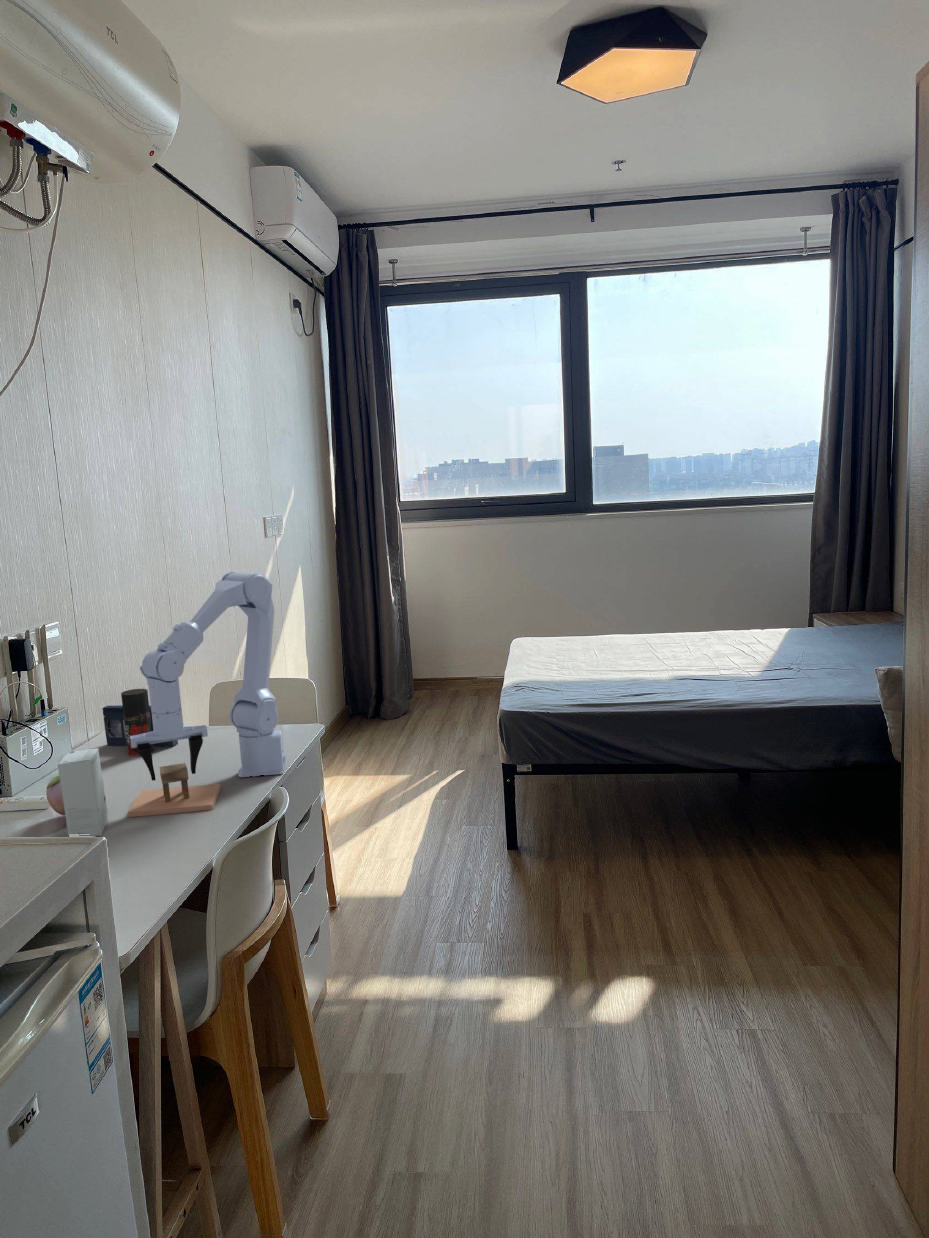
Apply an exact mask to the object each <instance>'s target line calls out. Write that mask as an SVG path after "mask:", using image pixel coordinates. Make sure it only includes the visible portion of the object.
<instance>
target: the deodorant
mask: <svg viewBox="0 0 929 1238" xmlns="http://www.w3.org/2000/svg"><path fill="white" fill-rule="evenodd" d="M148 691H149V689H146V688H133V689H128V690H124V691H122V692H120V695H121V697H120V698H121V706H123V714H124V723H125V732H126V740H127V746H126V747H127V754H128V756H130V757H139V756H141V755H140V754H139V752H138V748H137V747H135V748H131V740H130V736H134V735H139V734H143V733H148V732H152V727H151V718H150V709H149V706H150V698H149V692H148ZM150 745H151V751H152V753H153V752H154V751H155V747H154V745H153V744H150Z"/></svg>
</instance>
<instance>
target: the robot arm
mask: <svg viewBox="0 0 929 1238" xmlns="http://www.w3.org/2000/svg"><path fill="white" fill-rule="evenodd" d="M272 592H273V584H272V583H271V581H270V580H269V579H268V578H267V577H266V576H265V575H264V574H262V573H256V572H255V573H247V572H246V573H245V572H243V573H242V572H236V571H229V572H227V573H225V574H224V575H223V576H222V577H221V579H220V580H218V582H216V584H215V587H214V590H213V592H212V593H211V594H210V596H209V597H208V598H207V599H206V601H205V602H204V603H203V605H201V607H200V608H199V609H198V611H197V612H196V614H195V615H193V617H192V618H191V620H190V621H187V622H186V621H183V622H180V623H179V624H175V625H174V626H173V628H172V630H173V631H172V632H171V633H170V634H169V635H168V637H166V638H165V640H164V641H163V642H160V643H159V644H158V645H157V649H156V650H153V651H152V650H151V651H149V652H148V653H147V654H146V655H145V656H144V657H143V660H142V662H141V663H142V665H141V666H139V670H140V673H141V675H143V677H144V678H145V679H146V682H147V683H146V684H147V686H148V691H149V692H148V695H149V704H150V706H151V712H152V721H153V730H154V731H152V732H148V733H143V734H139V735H134V736H130V740H131V748H135V747H137V748H138V752H139V754H140V755H141V758H142V760H143V762H144V763H145V765H146V767H147V769H148V771H149V775H150V777H151V781H152V782H153V781H156V780H157V779H156V773H155V770H154V769H155V767H154V764H153V752H152V751H151V745H150V744H155V743H161V742H168V741H174V740H178V741H181V740H185V739H186V740H187V739H188V746H189V747H188V748H189V757H190V758H189V759H190V772H191V774H192V775H194V774H196V772H197V771H196V770H197V762H198V757H199V755H200V751H201V748H202V746H203V742H204V740H203V739H204V738H205V737H207V738H208V736H209V735H208V726H207V725H206V724H201V725H190V726H184V720H183V717H184V716H183V708H182V699H181V698H182V697H181V691H180V689H181V688H180V677H181V676H182V675H183V673H184V669H185V664H186V663H187V660H188V659H189V658H190V657H191V656H192V654H194V652H196V650H197V649H198V648H199V647H200V645H201V644H202V643H203V642H204V633H205V631H206V630H207V629H209V627H211V626H212V624H213V623H215V621H216V620H218V619H219V618H220V617H221V615H222V614H223V613H225V612H226V610H227V609H229V608H231V607H239V608H240V609H241V610H242V611H243V613H244V614H245V615H246V616H247V626H246V627H247V628H246V640H245V653H244V654H245V655H244V666H243V677H242V679H243V680H242V687H241V689H240V690H239V691H238V692H237V693H236V694H235V695H234V701H233V704H232V707H230V712H229V719H230V723H231V724H232V725H233V726H234V727H235V728H236V733H238V741H239V742H238V743H239V753H240V763H241V764H240V765H241V767H240V770H239V773H238V775H237V776H238V778H249V777H250V776H252V777H260V775H264V776H272V775H282V774H284V770H285V764H286V754H285V747H284V736H283V731H282V730H281V729H277V730H275V729H276V727H277V725H278V723H279V713H278V709H277V699H276V697H275V696H274V695H273V693H272V692H271V691H270V689H269V684H270V671H271V661H272V660H271V658H272V647H273V645H272V644H273V633H274V620H275V605H274V601H273V597H272V594H273V593H272ZM250 778H251V777H250Z"/></svg>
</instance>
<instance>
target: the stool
mask: <svg viewBox="0 0 929 1238" xmlns="http://www.w3.org/2000/svg"><path fill="white" fill-rule="evenodd" d="M159 774H160V779H161V784H162V789H163V793H164V797H165V803H166V802H171V801H170V792H169V788H170V785H169V784H172V783H176V782H180V783H181V785H180V787H182V793H183V796H184V799H189V790H188V786H189V783H188V780H189V772H188V767H187V764H186V762H182V763H175V764H169V765H165V766H159Z"/></svg>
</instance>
